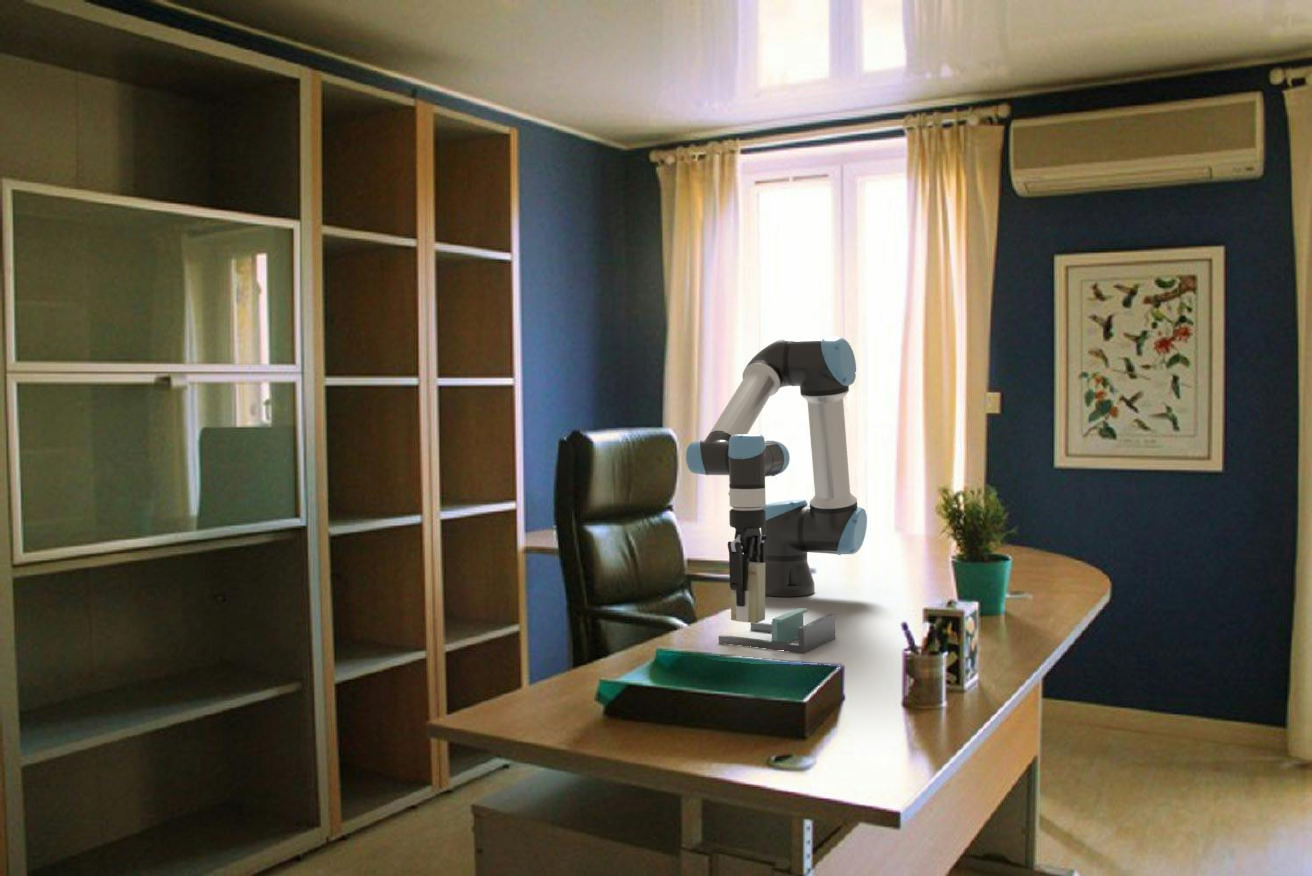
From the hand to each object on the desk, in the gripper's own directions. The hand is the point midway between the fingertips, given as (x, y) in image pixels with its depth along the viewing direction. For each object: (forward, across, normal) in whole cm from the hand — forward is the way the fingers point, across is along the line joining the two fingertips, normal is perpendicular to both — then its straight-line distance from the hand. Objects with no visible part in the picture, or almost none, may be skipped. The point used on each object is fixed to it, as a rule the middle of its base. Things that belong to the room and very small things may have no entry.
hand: (748, 619), depth 236 cm
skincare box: (0, 0, 0) cm, 0 cm away
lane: (+4, 0, +6) cm, 7 cm away
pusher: (+4, 0, +9) cm, 10 cm away
